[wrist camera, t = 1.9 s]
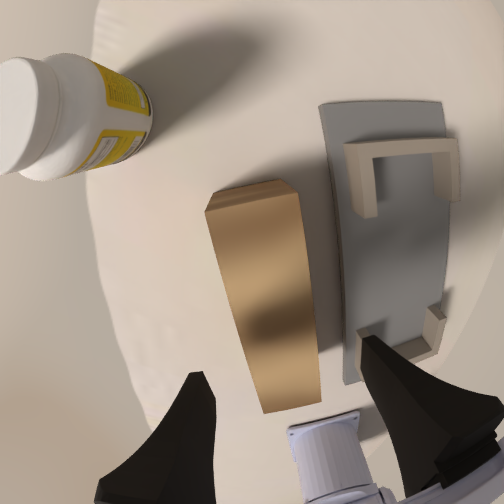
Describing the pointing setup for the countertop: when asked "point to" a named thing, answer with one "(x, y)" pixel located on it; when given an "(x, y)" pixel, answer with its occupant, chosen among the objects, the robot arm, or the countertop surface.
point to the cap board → (391, 222)
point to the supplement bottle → (68, 116)
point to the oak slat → (269, 289)
